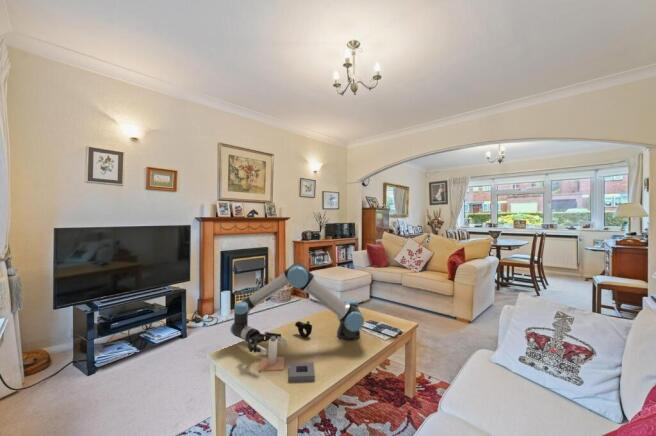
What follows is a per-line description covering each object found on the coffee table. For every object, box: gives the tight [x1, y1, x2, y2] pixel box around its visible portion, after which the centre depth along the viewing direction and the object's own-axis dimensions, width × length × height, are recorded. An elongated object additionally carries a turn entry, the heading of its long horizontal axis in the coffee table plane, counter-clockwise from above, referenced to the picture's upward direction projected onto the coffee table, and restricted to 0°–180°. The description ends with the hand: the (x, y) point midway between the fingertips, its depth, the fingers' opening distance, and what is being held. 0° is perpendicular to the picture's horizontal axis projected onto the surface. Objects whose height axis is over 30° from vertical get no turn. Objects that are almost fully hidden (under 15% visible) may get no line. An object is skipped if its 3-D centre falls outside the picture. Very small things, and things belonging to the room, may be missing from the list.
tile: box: [258, 356, 286, 373], centre depth 143 cm, size 12×12×1 cm
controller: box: [294, 320, 313, 338], centre depth 178 cm, size 4×12×10 cm, turn 58°
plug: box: [267, 336, 278, 365], centre depth 143 cm, size 4×4×14 cm
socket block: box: [288, 361, 316, 383], centre depth 135 cm, size 12×12×3 cm
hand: (276, 347), depth 141 cm, fingers open, 13 cm apart
